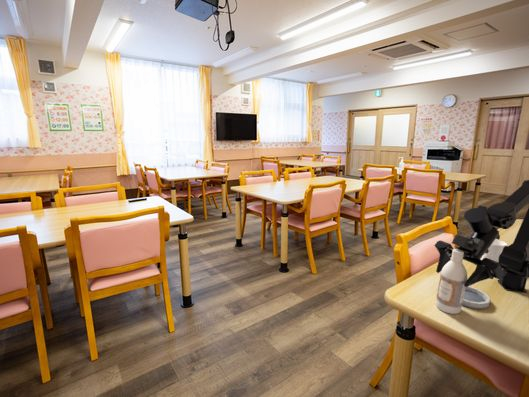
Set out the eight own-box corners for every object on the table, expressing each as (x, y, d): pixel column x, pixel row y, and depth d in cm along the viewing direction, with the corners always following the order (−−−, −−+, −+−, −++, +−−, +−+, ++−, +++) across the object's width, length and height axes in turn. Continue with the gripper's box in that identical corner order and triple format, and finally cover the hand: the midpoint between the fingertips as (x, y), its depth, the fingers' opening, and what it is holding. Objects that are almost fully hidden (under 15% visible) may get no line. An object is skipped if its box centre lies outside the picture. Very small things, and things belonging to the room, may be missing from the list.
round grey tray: (480, 292, 101) (481, 287, 101) (496, 312, 90) (497, 306, 90) (442, 286, 105) (443, 281, 104) (452, 305, 94) (453, 300, 93)
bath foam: (430, 304, 94) (440, 247, 89) (444, 299, 97) (454, 244, 92) (450, 317, 88) (462, 257, 83) (465, 311, 90) (477, 253, 86)
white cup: (503, 269, 118) (508, 247, 116) (479, 264, 122) (484, 242, 120) (500, 262, 124) (505, 240, 122) (478, 257, 129) (482, 237, 126)
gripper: (442, 217, 95) (414, 252, 94) (506, 236, 79) (472, 280, 77) (454, 236, 100) (427, 270, 99) (517, 258, 84) (485, 299, 82)
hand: (450, 278), depth 89 cm, fingers open, 9 cm apart
